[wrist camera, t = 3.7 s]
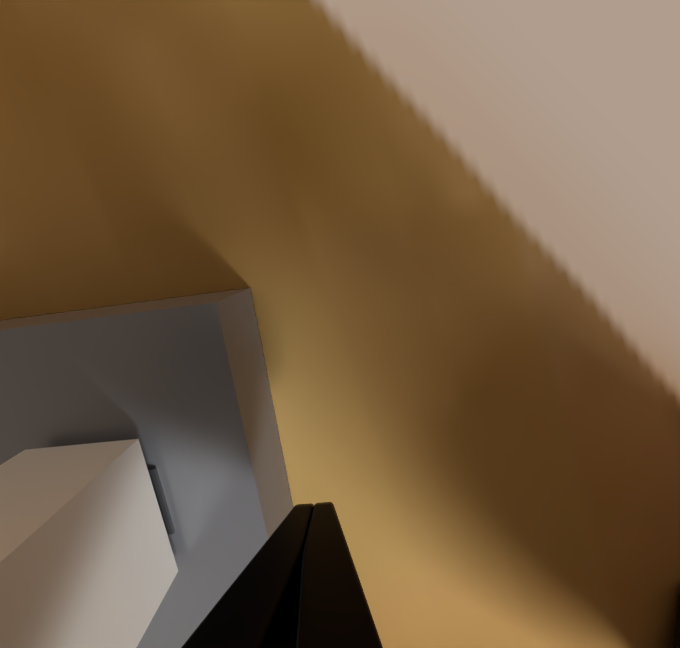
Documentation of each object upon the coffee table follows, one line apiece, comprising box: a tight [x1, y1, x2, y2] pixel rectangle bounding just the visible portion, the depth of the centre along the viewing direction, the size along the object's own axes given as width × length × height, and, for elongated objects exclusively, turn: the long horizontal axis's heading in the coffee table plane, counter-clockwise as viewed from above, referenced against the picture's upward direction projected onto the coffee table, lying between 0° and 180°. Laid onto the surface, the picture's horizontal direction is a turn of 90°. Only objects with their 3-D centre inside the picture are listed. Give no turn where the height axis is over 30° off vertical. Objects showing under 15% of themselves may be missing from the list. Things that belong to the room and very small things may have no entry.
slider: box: [0, 439, 178, 648], centre depth 7 cm, size 3×4×4 cm
